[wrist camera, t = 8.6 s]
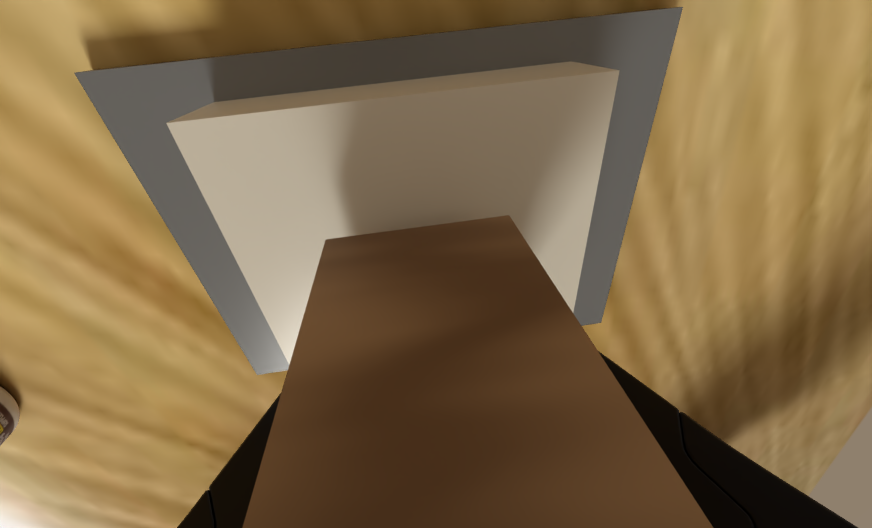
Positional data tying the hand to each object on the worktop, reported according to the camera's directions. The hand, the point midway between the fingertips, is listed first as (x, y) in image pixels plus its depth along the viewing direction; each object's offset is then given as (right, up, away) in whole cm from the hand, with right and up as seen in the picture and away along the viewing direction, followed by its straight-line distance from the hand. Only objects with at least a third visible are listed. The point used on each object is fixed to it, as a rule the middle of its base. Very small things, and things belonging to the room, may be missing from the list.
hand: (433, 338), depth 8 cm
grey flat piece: (-1, +3, +5) cm, 6 cm away
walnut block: (0, +1, +1) cm, 2 cm away
